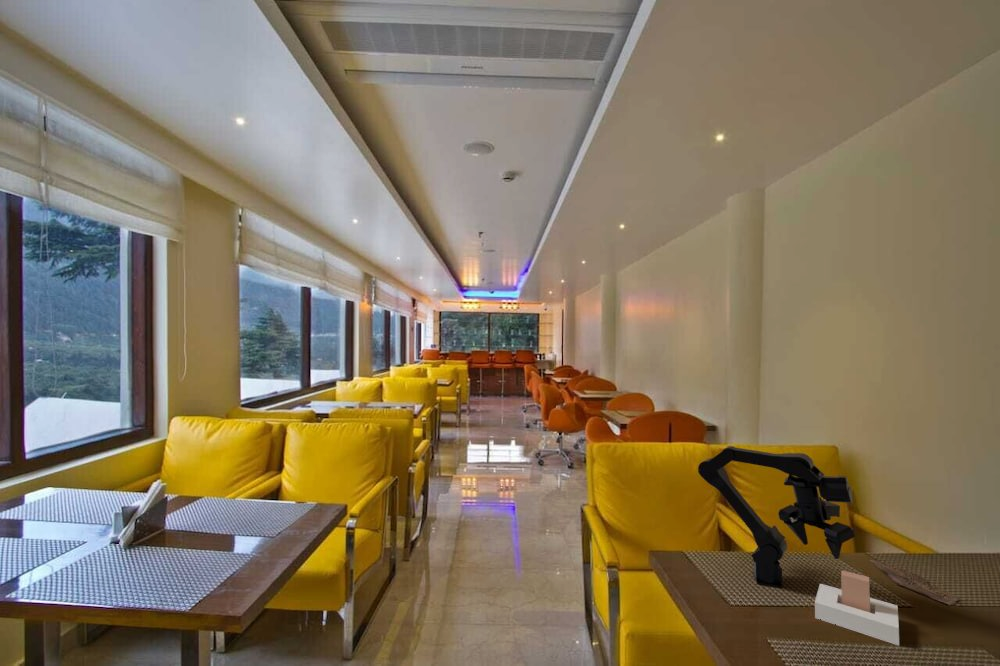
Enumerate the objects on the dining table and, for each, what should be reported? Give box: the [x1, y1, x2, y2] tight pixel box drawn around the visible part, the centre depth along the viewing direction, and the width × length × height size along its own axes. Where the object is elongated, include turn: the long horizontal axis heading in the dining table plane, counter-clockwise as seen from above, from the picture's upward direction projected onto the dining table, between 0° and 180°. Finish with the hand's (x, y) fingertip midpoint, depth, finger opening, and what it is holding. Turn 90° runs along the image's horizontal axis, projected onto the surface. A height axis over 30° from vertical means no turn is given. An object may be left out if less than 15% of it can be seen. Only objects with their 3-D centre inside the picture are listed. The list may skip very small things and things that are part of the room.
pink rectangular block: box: [840, 570, 871, 613], centre depth 112 cm, size 6×3×10 cm, turn 49°
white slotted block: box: [814, 583, 900, 646], centre depth 112 cm, size 16×12×4 cm
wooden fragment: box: [869, 559, 959, 607], centre depth 130 cm, size 26×11×1 cm, turn 177°
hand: (821, 551), depth 125 cm, fingers open, 9 cm apart
